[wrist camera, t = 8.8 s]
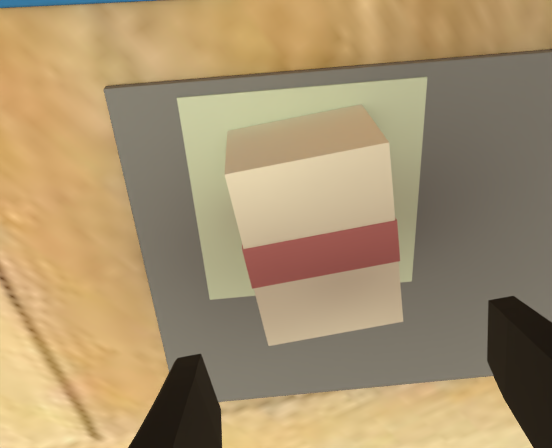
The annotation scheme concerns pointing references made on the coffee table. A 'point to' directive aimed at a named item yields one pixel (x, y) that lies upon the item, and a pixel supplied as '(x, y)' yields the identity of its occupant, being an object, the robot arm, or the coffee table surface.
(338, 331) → the card deck
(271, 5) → the coffee table surface
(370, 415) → the coffee table surface
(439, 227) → the mat
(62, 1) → the handheld gaming device
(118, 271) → the coffee table surface
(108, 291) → the coffee table surface
